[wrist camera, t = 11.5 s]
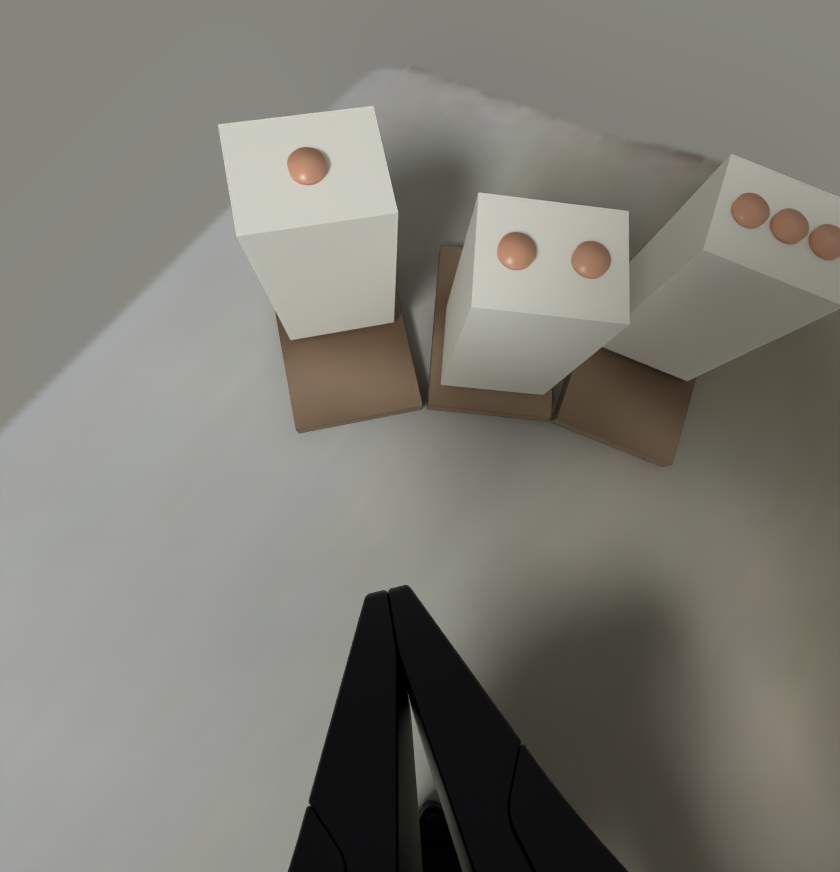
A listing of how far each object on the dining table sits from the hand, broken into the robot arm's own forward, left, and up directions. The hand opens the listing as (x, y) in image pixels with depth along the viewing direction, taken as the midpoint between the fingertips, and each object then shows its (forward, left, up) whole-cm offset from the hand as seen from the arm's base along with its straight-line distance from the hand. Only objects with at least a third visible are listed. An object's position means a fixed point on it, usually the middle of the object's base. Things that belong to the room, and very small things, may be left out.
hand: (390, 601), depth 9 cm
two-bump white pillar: (0, -11, -13) cm, 17 cm away
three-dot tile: (-7, -16, -13) cm, 21 cm away
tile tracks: (+1, -11, -13) cm, 17 cm away
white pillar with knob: (+8, -10, -13) cm, 18 cm away
